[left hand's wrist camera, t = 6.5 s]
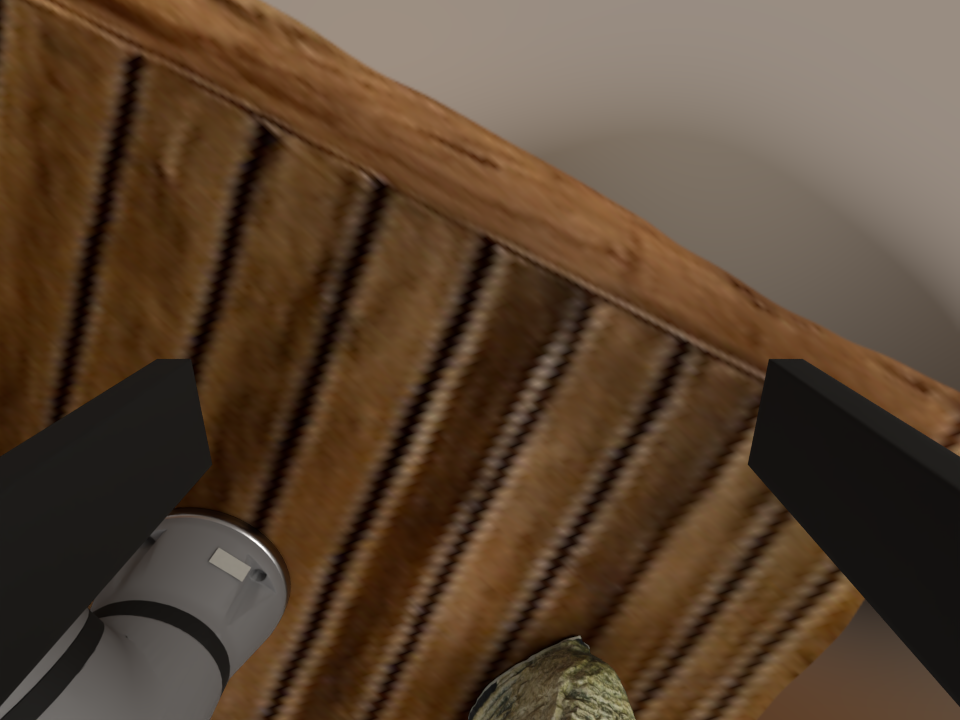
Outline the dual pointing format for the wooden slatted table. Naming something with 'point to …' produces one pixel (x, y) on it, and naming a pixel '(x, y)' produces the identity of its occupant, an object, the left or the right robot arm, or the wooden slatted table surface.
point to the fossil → (556, 688)
